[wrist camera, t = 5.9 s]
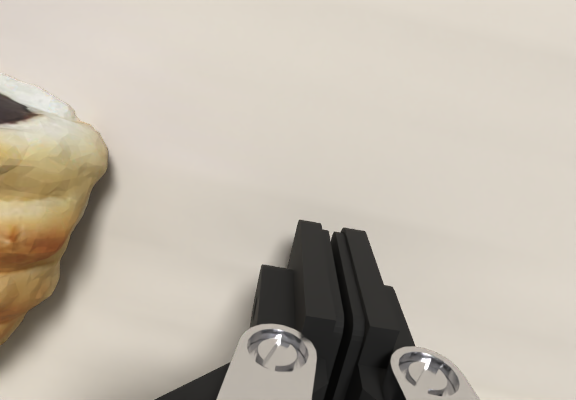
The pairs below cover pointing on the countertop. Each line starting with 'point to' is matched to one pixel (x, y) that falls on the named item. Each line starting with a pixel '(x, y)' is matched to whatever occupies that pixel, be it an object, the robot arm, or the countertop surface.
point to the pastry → (39, 192)
